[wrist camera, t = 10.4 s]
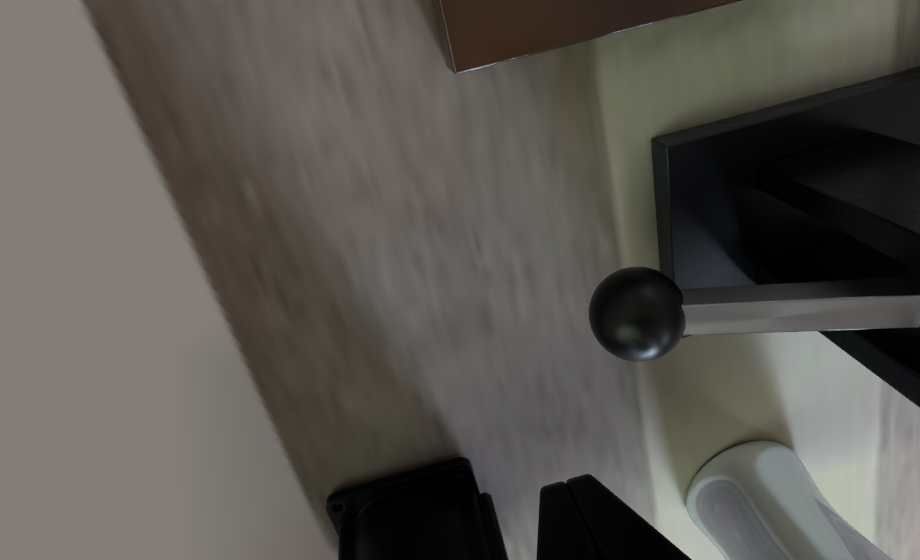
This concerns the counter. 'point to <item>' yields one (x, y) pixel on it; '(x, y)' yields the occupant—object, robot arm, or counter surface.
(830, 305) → the lever with ball knob
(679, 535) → the counter surface
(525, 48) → the control block
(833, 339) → the black lever housing
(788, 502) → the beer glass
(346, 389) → the counter surface
